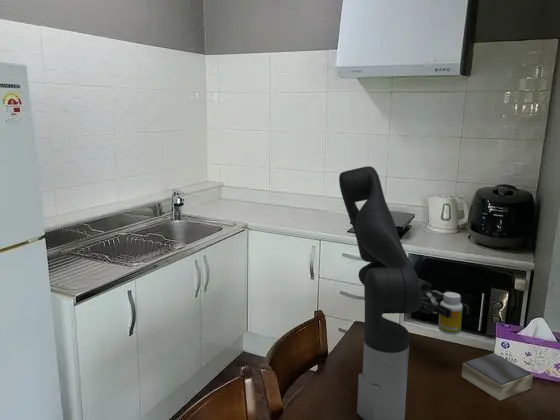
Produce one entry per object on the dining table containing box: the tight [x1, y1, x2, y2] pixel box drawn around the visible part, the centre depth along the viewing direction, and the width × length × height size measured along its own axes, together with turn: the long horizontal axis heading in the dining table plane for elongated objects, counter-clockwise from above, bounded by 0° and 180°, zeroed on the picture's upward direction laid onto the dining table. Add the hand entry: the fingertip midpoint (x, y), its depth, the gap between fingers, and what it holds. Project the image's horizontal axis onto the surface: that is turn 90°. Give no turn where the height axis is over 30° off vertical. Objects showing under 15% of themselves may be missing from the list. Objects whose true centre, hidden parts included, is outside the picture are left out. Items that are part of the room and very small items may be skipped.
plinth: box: [461, 352, 534, 402], centre depth 110 cm, size 11×11×4 cm
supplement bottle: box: [438, 291, 463, 336], centre depth 115 cm, size 5×5×10 cm
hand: (459, 312), depth 113 cm, fingers closed on supplement bottle, 5 cm apart
